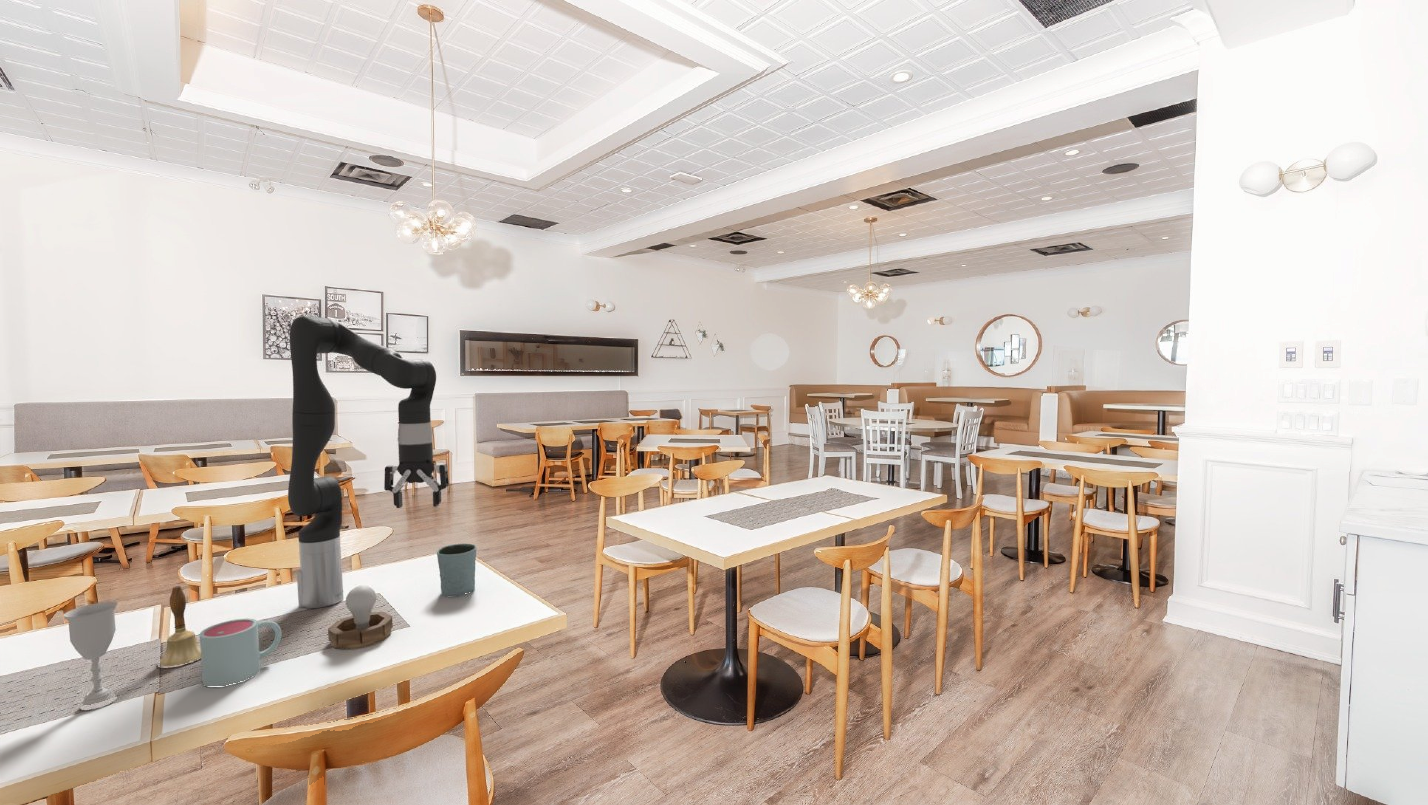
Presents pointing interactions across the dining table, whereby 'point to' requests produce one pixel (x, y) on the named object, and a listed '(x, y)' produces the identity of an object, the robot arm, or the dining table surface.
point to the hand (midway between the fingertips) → (417, 506)
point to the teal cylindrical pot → (457, 569)
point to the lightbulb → (361, 605)
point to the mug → (233, 650)
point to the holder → (360, 632)
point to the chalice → (93, 641)
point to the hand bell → (180, 635)
